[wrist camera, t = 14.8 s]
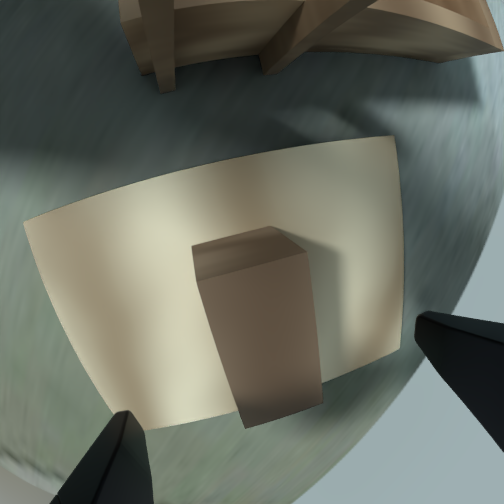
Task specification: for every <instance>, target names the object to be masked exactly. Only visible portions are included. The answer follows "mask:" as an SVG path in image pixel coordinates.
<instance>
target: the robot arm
mask: <svg viewBox="0 0 504 504" xmlns="http://www.w3.org/2000/svg"><path fill="white" fill-rule="evenodd" d="M414 337H415V341H416V343H417V344H418V346H419V347H420V348H421V350H422V351H423V353H424V354H425V355H426V357H427V358H428V360H429V361H430V362H431V364H432V365H433V367H434V368H435V369H436V371H437V372H438V373H439V375H440V376H441V377H442V378H443V379H444V381H445V382H446V383H447V384H448V385H449V386H450V388H452V390H453V391H454V392H455V393H456V394H457V396H458V397H459V398H460V399H461V400H462V401H463V403H464V404H465V405H466V406H467V408H468V409H469V410H470V411H471V412H472V414H473V415H474V416H475V417H476V418H477V420H478V421H479V422H480V423H481V425H482V426H483V427H484V428H485V430H486V431H487V432H488V433H489V435H490V436H491V437H492V438H493V440H494V441H495V442H496V443H497V445H498V446H499V447H500V449H502V451H503V452H504V324H503V323H498V322H491V321H485V320H479V319H473V318H467V317H461V316H455V315H450V314H444V313H438V312H433V311H425V312H423V313H421V314H419V315H418V316H417V318H416V324H415V334H414ZM57 494H58V495H55V497H54V498H53V500H52V501H51V503H50V504H154V501H153V488H152V477H151V470H150V465H149V459H148V453H147V447H146V440H145V434H144V430H143V428H142V426H141V425H140V423H139V422H138V420H137V419H136V418H135V416H134V415H133V413H132V412H131V411H130V410H124V411H118V412H116V413H115V414H114V416H113V417H112V418H111V420H110V421H109V422H108V424H107V425H106V427H105V428H104V429H103V431H102V432H101V433H100V435H99V436H98V437H97V439H96V440H95V442H94V443H93V444H92V446H91V447H90V448H89V450H88V451H87V453H86V454H85V455H84V457H83V458H82V459H81V461H80V462H79V464H78V465H77V466H76V468H75V469H74V470H73V472H72V473H71V475H70V476H69V477H68V479H67V480H66V482H65V483H64V484H63V486H62V487H61V489H60V490H59V491H58V493H57Z"/></svg>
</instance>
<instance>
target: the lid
mask: <svg viewBox="0 0 504 504" xmlns="http://www.w3.org/2000/svg"><path fill="white" fill-rule="evenodd" d="M23 224H24V227H25V231H26V234H27V237H28V240H29V244H30V247H31V250H32V253H33V256H34V259H35V261H36V264H37V267H38V270H39V272H40V275H41V278H42V280H43V283H44V285H45V288H46V290H47V293H48V295H49V297H50V300H51V302H52V304H53V307H54V309H55V311H56V313H57V316H58V318H59V320H60V322H61V324H62V326H63V328H64V330H65V332H66V334H67V336H68V338H69V340H70V342H71V344H72V346H73V348H74V350H75V352H76V354H77V355H78V357H79V359H80V361H81V363H82V364H83V366H84V368H85V370H86V371H87V373H88V375H89V377H90V378H91V380H92V382H93V383H94V385H95V386H96V388H97V390H98V391H99V393H100V394H101V396H102V398H103V399H104V401H105V402H106V404H107V405H108V407H109V408H110V410H111V411H112V413H113V414H115V413H116V412H118V411H124V410H130V411H131V412H132V413H133V415H134V416H135V418H136V419H137V420H138V422H139V423H140V425H141V426H142V428H143V430H150V429H156V428H162V427H168V426H173V425H178V424H183V423H188V422H193V421H198V420H202V419H207V418H211V417H215V416H219V415H223V414H227V413H231V412H235V411H239V414H240V416H241V419H242V422H243V424H244V427H245V429H246V428H250V427H253V426H257V425H260V424H264V423H267V422H270V421H273V420H277V419H280V418H283V417H286V416H289V415H292V414H295V413H297V412H300V411H303V410H306V409H308V408H311V407H314V406H316V405H319V404H322V403H323V393H322V383H324V382H326V381H329V380H331V379H334V378H336V377H339V376H341V375H344V374H346V373H348V372H351V371H353V370H355V369H358V368H360V367H362V366H365V365H367V364H369V363H371V362H373V361H376V360H378V359H380V358H382V357H384V356H386V355H388V354H390V353H392V352H394V351H396V350H398V349H400V339H401V327H402V312H403V289H404V238H403V215H402V200H401V188H400V177H399V168H398V160H397V152H396V145H395V138H394V135H392V136H377V137H367V138H357V139H348V140H340V141H332V142H324V143H317V144H310V145H303V146H297V147H291V148H285V149H279V150H273V151H267V152H262V153H257V154H251V155H246V156H241V157H236V158H232V159H227V160H222V161H218V162H213V163H209V164H204V165H200V166H196V167H192V168H188V169H184V170H180V171H176V172H172V173H168V174H164V175H161V176H157V177H153V178H150V179H146V180H143V181H139V182H136V183H132V184H129V185H126V186H122V187H119V188H116V189H113V190H109V191H106V192H103V193H100V194H97V195H94V196H91V197H88V198H85V199H82V200H79V201H76V202H74V203H71V204H68V205H65V206H62V207H60V208H57V209H54V210H52V211H49V212H46V213H44V214H41V215H39V216H36V217H34V218H31V219H29V220H27V221H24V222H23Z"/></svg>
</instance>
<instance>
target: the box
mask: <svg viewBox="0 0 504 504" xmlns="http://www.w3.org/2000/svg"><path fill="white" fill-rule="evenodd" d="M118 3H119V14H120V23H121V25H122V28H123V30H124V33H125V35H126V38H127V40H128V43H129V45H130V48H131V50H132V53H133V55H134V58H135V60H136V63H137V65H138V67H139V70H140V72H141V75H142V76H143V75H146V74H150V73H154V72H155V74H156V78H157V82H158V85H159V89H160V93H161V94H162V93H166V92H170V91H175V90H176V86H175V67H180V66H185V65H190V64H195V63H200V62H206V61H212V60H218V59H225V58H233V57H241V56H249V55H259V58H260V62H261V67H262V71H263V75H273V74H278V73H279V72H280V71H281V70H283V69H284V68H285V67H286V66H288V65H289V64H290V63H291V62H292V61H294V60H295V59H296V58H297V57H299V56H300V55H301V54H302V53H304V52H350V53H367V54H379V55H389V56H397V57H405V58H412V59H418V60H424V61H430V62H435V63H443V62H447V61H452V60H456V59H461V58H466V57H471V56H477V55H482V54H488V53H495V52H501V51H504V49H503V46H502V43H501V39H500V36H499V33H498V31H497V28H496V25H495V22H494V20H493V17H492V14H491V12H490V9H489V7H488V4H487V2H486V0H118Z"/></svg>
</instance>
